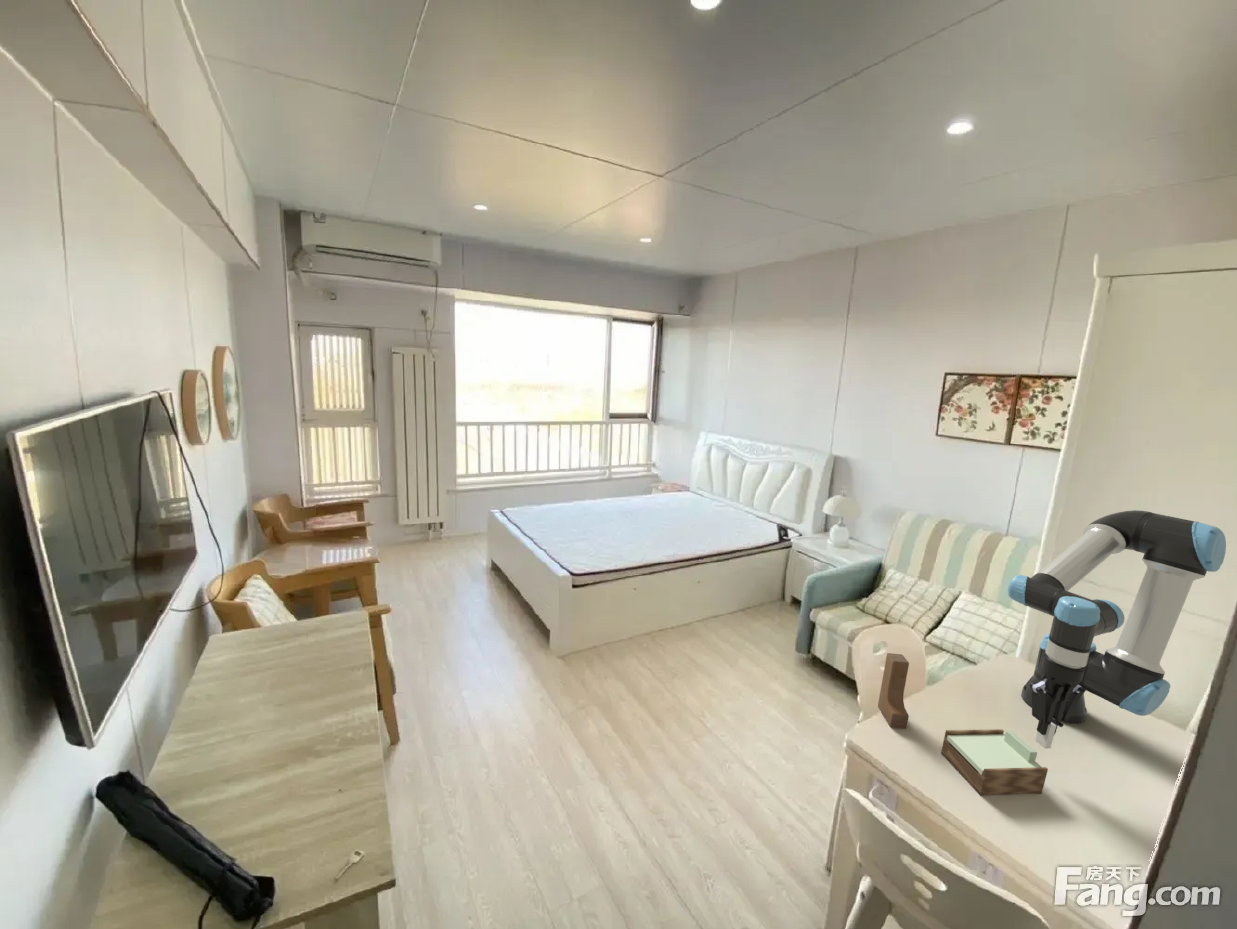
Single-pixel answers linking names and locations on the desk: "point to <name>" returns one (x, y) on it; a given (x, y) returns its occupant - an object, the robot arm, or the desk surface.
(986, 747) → the lid
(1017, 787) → the box
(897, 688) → the wooden block
